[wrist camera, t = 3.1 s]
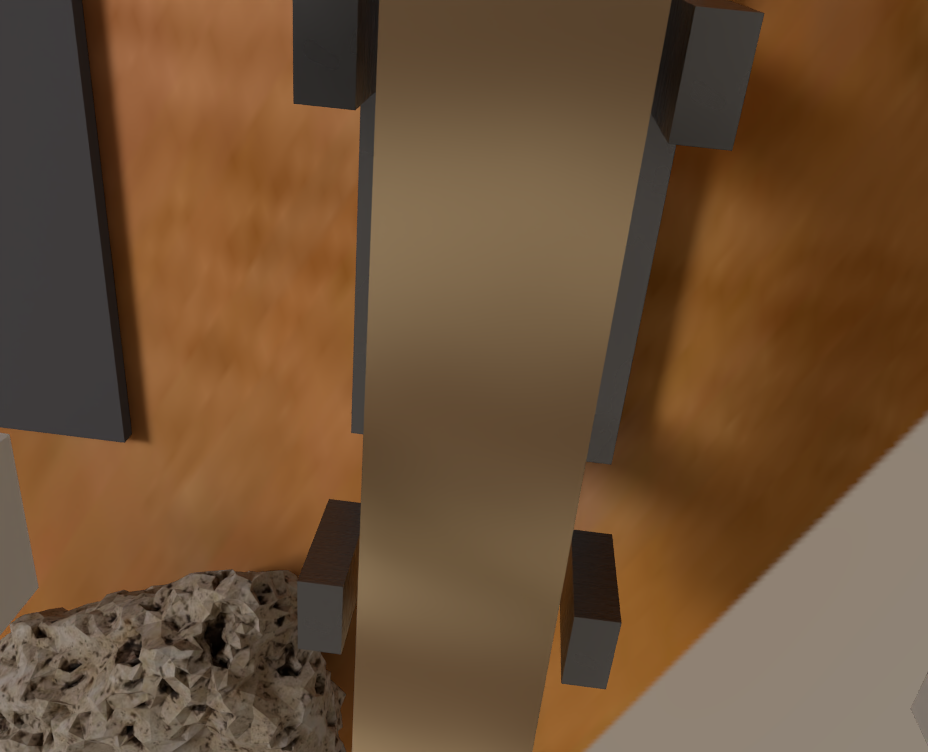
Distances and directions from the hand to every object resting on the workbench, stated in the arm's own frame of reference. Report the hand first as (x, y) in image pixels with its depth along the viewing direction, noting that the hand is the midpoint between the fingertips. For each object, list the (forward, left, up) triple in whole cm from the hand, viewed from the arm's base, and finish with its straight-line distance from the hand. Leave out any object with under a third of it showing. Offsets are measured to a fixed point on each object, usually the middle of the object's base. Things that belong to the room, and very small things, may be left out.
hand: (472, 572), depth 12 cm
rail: (0, 0, -8) cm, 8 cm away
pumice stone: (+19, -11, -17) cm, 28 cm away
